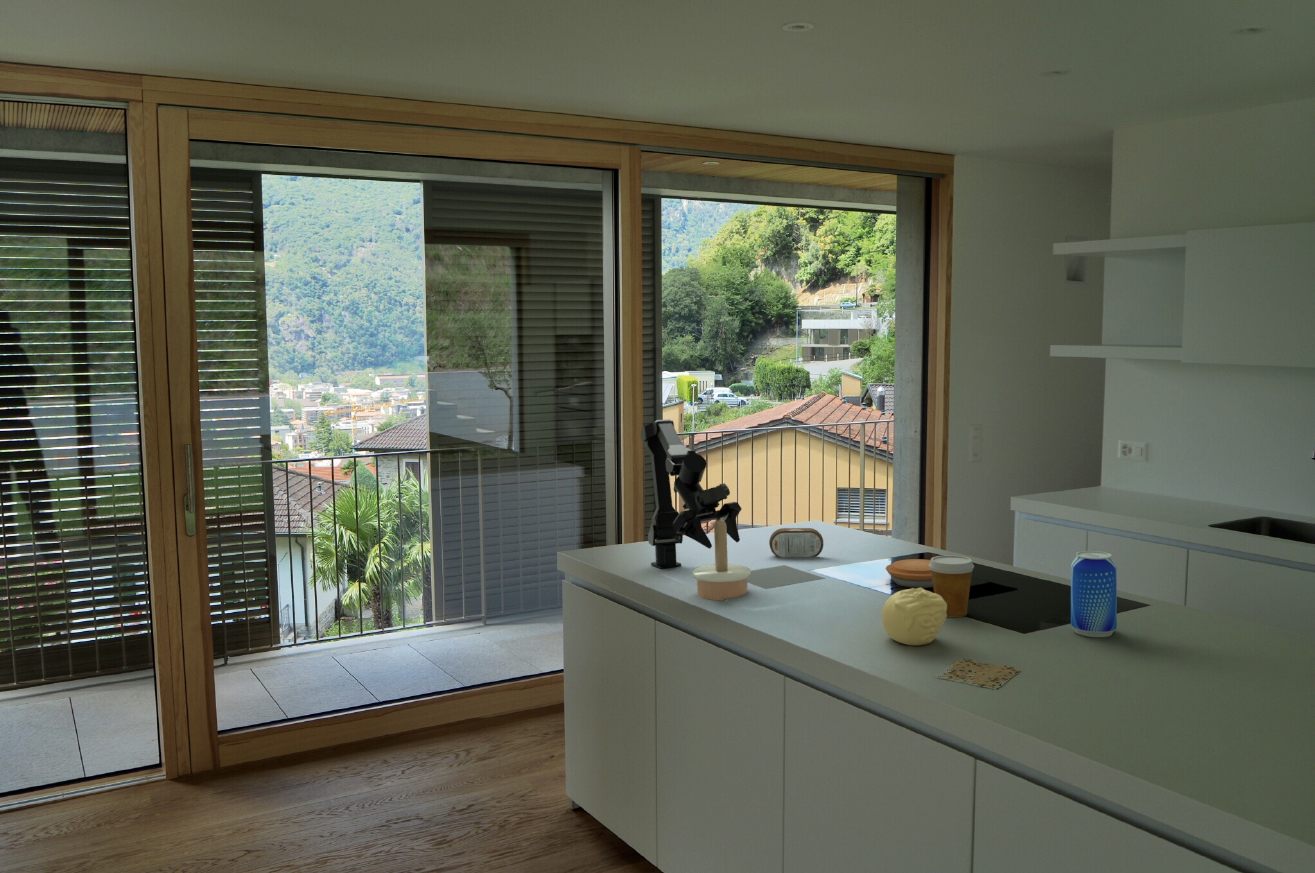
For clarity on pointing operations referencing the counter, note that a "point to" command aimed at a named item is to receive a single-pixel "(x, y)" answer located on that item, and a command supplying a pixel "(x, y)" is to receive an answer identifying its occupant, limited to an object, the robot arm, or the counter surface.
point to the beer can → (1093, 594)
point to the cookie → (980, 672)
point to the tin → (796, 542)
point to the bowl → (721, 589)
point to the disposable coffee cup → (952, 582)
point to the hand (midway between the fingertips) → (724, 544)
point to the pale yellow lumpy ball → (914, 616)
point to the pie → (911, 573)
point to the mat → (779, 577)
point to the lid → (721, 561)
